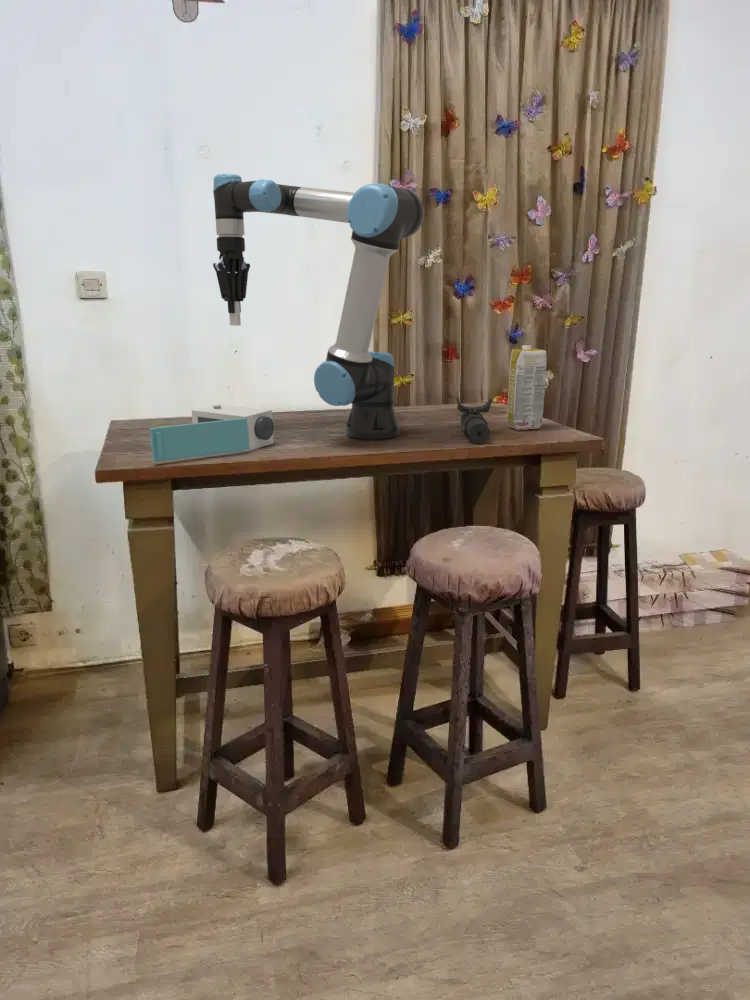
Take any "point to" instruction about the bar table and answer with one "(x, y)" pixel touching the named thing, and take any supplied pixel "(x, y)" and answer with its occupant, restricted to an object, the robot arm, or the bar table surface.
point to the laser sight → (475, 422)
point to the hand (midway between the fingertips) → (235, 325)
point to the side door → (199, 439)
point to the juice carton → (526, 387)
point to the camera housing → (257, 418)
